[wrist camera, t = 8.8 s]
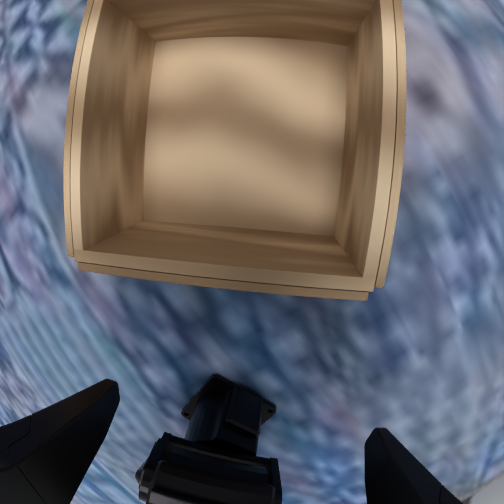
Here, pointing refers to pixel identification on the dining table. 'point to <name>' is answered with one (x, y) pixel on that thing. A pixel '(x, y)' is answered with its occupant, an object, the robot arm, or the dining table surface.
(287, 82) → the tan wooden open box
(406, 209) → the dining table surface
